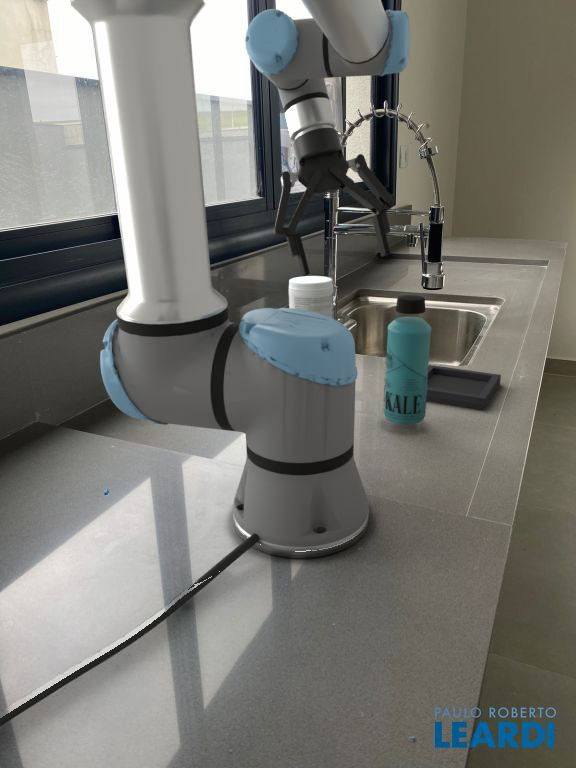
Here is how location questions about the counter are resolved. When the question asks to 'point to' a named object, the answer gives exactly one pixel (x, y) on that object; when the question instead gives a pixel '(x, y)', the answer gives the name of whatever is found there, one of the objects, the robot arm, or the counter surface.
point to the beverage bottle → (407, 363)
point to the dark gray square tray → (461, 387)
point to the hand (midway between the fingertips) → (346, 265)
